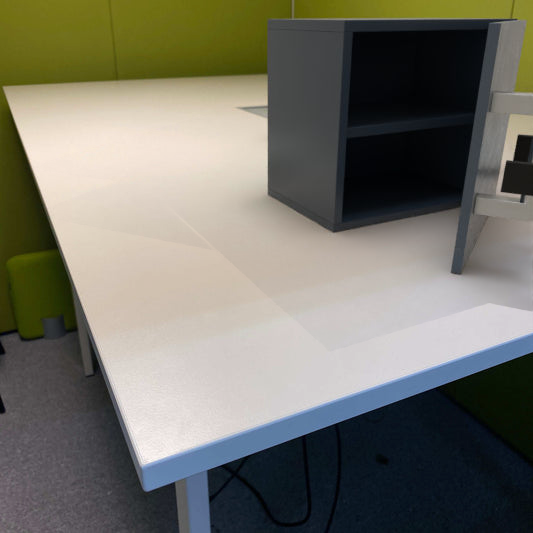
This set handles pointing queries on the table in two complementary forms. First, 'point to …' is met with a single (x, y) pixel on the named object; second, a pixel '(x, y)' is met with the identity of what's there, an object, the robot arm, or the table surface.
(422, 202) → the cabinet
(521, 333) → the table surface
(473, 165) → the door
